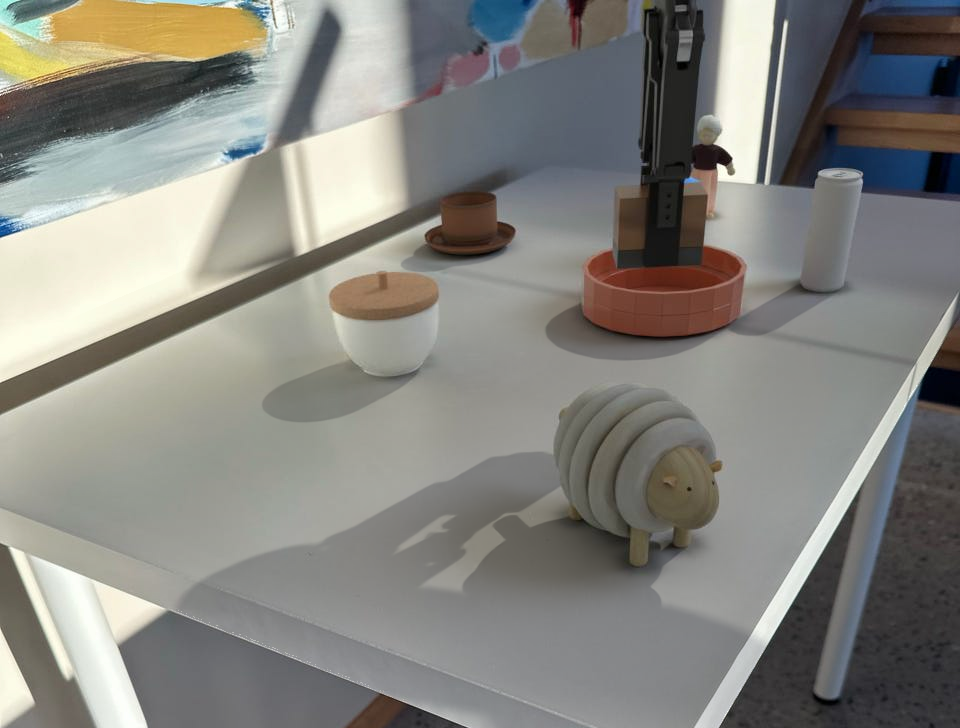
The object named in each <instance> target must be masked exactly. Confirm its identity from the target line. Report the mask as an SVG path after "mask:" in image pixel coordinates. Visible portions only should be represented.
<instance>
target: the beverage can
mask: <svg viewBox="0 0 960 728" xmlns="http://www.w3.org/2000/svg"><path fill="white" fill-rule="evenodd" d="M863 175H864V173H863V171H860V170H858V169H853V168H846V167H833V168H826V169H825V168H824V169H822V170H819V171H818V172H817V178H816V179H815V182H814V188H813V194H812V200H811V201H812V202H811V206H810V207H811V208H810V214H809V220H808V227H807V234H806V241H805V246H804V254H803V260H802V266H801V275H800V278H799V279H800V280H799V282H800V285H801V287H802V288H803V289H806V290H807V291H810V292H815V293H832V292H838V291H839V290H841V289H842V288H843V286H844V285H845V280H846V273H847V268H848V263H849V257H850V252H851V246H852V241H853V237H854V236H853V235H854V231H855V225H856V221H857V215H858V212H859V211H858V210H859V205H860V201H861V200H860V199H861V195H862V189H863V183H864V181H863V178H862V177H863Z"/></svg>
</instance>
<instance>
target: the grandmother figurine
mask: <svg viewBox="0 0 960 728" xmlns="http://www.w3.org/2000/svg"><path fill="white" fill-rule="evenodd" d="M721 123H722V122H721V121H720V120H719V119H718V117H716V116H714V115H713V114H707V115H703V116H702V117H700V118H699V120H698V122H697V126H696V130H697V132H696V134H697V137H698V141H699V142H700V143H699V144H694V145H693V148H692V159H691V165H693V166H692V172H691V175H690V177H692V178H694V179H696V180H699V181H701V183H702V186H703V188H704V189H705V191H706V192H707V194H708V202H707V213H706V220H711V219H714V218H715V215H714V213H713V211H714V209H715V205H716V198H717V191H718V181H719V180H718V179H719V177H718V176H719V171H718V165H720V166H723V167H725V169H726V172H727V175H728V176H730V177H731V176H734V175H735V174H736V169H735V167H734V162H733V160H734V158H733V156H732V155H731V154H730V153H729V152H728V151H727V150H726V149H725V148H723V147H722V146H720V145H718V144H714V143H716V142H717V140H718V138H719V136H721V134H722V133H723V125H722V124H721Z"/></svg>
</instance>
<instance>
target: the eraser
mask: <svg viewBox="0 0 960 728" xmlns="http://www.w3.org/2000/svg"><path fill="white" fill-rule="evenodd" d="M613 197H614V199H613V220H612V221H613V222H612V236H613V237H612V248H613V249H612V254H613V257H614V261H615V264H616V267H617V269H628V268H645V267H644V251H645V233H646V215H647V197H648V185H640V184H633V185H615V186H614V194H613ZM707 202H708V194H707V192H706V191H705V189H704V188H703V186H702V185H701V183H700V182H691V183H684V194H683V207H682V220H681V233H680V246H679V259H678V266H694V265H701V264H702V256H703V245H705V234H706V233H705V232H706V223H707V219H706V213H707ZM671 267H672V266H671Z"/></svg>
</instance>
